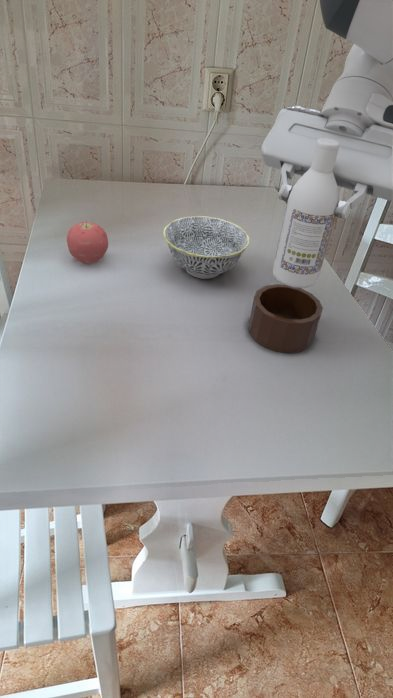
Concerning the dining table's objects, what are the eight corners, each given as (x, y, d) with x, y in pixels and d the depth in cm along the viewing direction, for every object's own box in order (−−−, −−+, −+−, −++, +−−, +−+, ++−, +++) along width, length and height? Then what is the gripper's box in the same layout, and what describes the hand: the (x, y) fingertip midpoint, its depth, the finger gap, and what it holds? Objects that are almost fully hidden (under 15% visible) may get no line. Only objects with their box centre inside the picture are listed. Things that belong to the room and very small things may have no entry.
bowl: (237, 299, 88) (243, 262, 83) (152, 283, 89) (153, 245, 85) (247, 258, 100) (254, 224, 95) (172, 244, 102) (175, 210, 97)
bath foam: (324, 288, 73) (366, 150, 60) (281, 290, 71) (314, 149, 59) (306, 264, 78) (341, 133, 65) (265, 266, 76) (293, 132, 64)
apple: (64, 254, 94) (60, 215, 89) (100, 249, 97) (99, 210, 92) (75, 273, 90) (72, 233, 85) (113, 266, 93) (112, 227, 88)
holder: (305, 315, 86) (313, 286, 82) (319, 354, 78) (329, 324, 74) (244, 312, 85) (250, 282, 81) (253, 351, 77) (259, 321, 73)
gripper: (281, 87, 68) (239, 175, 68) (430, 120, 61) (384, 219, 60) (287, 116, 74) (248, 197, 73) (423, 149, 67) (382, 239, 66)
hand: (311, 207), depth 67 cm, fingers closed on bath foam, 7 cm apart
